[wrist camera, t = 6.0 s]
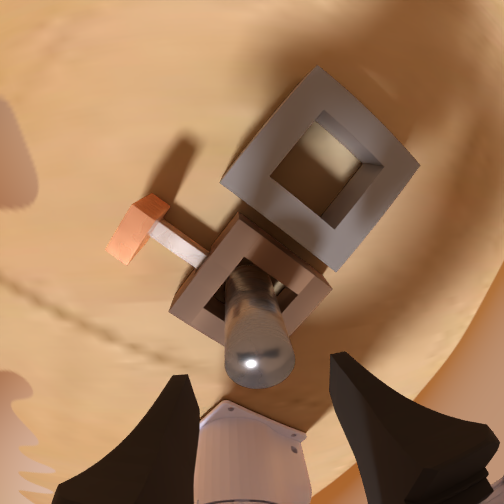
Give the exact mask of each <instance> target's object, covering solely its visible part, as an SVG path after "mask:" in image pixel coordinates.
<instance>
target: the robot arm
mask: <svg viewBox="0 0 504 504" xmlns="http://www.w3.org/2000/svg"><path fill="white" fill-rule="evenodd" d="M329 392H330V395H331V399H332V403H333V406H334V409H335V412H336V415H337V417H338V419H339V421H340V424H341V426H342V428H343V431H344V433H345V435H346V437H347V440H348V442H349V444H350V446H351V449H352V451H353V453H354V456H355V458H356V461H357V464H358V468H359V471H360V475H361V478H362V481H363V485H364V489H365V493H366V497H367V501H368V504H504V476H503V477H502V478H501V479H499V480H498V481H496V482H495V483H494V484H492V485H490V483H489V482H488V480H487V479H486V477H487V476H488V471H487V470H486V468H485V467H486V465H487V464H488V463H489V461H490V460H491V459H492V457H493V456H494V454H495V453H496V451H497V449H498V447H499V444H500V442H499V440H498V438H497V437H496V436H495V434H494V433H493V431H492V430H491V429H490V428H489V427H488V426H487V425H486V424H481V423H475V422H470V421H465V420H461V419H457V418H454V417H450V416H447V415H444V414H441V413H438V412H436V411H433V410H431V409H429V408H426V407H424V406H422V405H420V404H417V403H416V402H414V401H412V400H410V399H408V398H406V397H404V396H403V395H401V394H399V393H398V392H396V391H395V390H393V389H392V388H390V387H389V386H387V385H386V384H385V383H383V382H382V381H381V380H379V379H378V378H377V377H375V376H374V375H373V374H371V373H370V372H369V371H368V370H367V369H365V368H364V367H363V366H362V365H361V364H359V363H358V362H357V361H356V360H355V359H354V358H353V357H351V356H350V355H349V354H348V353H347V352H345V351H344V352H340V353H335V354H330V384H329ZM230 407H232V408H230ZM306 437H307V436H306V433H304V432H301V431H299V430H296V429H293V428H291V427H288V426H286V425H283V424H281V423H278V422H276V421H273V420H271V419H269V418H266V417H264V416H262V415H259V414H257V413H255V412H253V411H250V410H248V409H246V408H244V407H242V406H239V405H237V404H235V403H233V402H231V401H228V400H223V401H221V402H220V403H219V404H218V405H217V406H216V407H215V408H214V409H213V410H212V411H210V412H209V413H208V414H207V415H206V416H205V417H204V418H203V419H202V420H200V409H199V406H198V403H197V400H196V398H195V395H194V392H193V389H192V386H191V383H190V380H189V376H188V374H185V375H173V376H172V377H171V378H170V380H169V381H168V383H167V385H166V386H165V388H164V389H163V391H162V392H161V394H160V395H159V397H158V398H157V400H156V401H155V402H154V404H153V405H152V407H151V408H150V409H149V411H148V412H147V414H146V415H145V416H144V417H143V419H142V420H141V421H140V422H139V424H138V425H137V426H136V427H135V428H134V430H133V431H132V432H131V433H130V434H129V435H128V436H127V437H126V438H125V439H124V440H123V441H122V442H121V443H120V444H119V445H118V446H117V447H116V448H115V449H113V450H112V451H111V452H110V453H109V454H107V455H106V456H105V457H104V458H103V459H101V460H100V461H99V462H97V463H96V464H94V465H93V466H91V467H90V468H88V469H87V470H85V471H84V472H82V473H80V474H79V475H77V476H75V477H73V478H71V479H69V480H67V481H65V482H63V483H61V484H59V485H58V487H57V489H56V492H55V495H54V498H53V501H52V504H310V500H311V495H312V489H311V484H310V480H309V475H308V471H307V467H306V463H305V459H304V454H303V450H302V446H301V442H302V441H303V440H305V439H306Z"/></svg>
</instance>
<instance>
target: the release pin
mask: <svg viewBox="0 0 504 504" xmlns="http://www.w3.org/2000/svg"><path fill="white" fill-rule="evenodd" d="M170 207H171V206H169V205H168V204H167V203H165V202H164V201H163V200H161V199H160V198H158V197H157V196H156V195H154V194H153V193H151V194H149V195H148V196H146V197H144V198H142V199H140V200H139V201H137V202H135V203H133V204H132V205H131V207H130V208H129V210H128V211H127V213H126V215H125V216H124V218H123V220H122V221H121V223H120V225H119V226H118V228H117V230H116V231H115V233H114V235H113V236H112V238H111V240H110V242H109V243H108V245H107V247H106V249H105V250H106V251H107V252H109V253H110V254H111V255H113V256H114V257H116V258H117V259H118V260H120V261H121V262H122V263H124V264H125V265H128V264H129V262H130V261H131V260H132V259H133V258H134V256H135V255H136V254H137V253H138V252H139V251H140V249H141V248H142V247H143V246H144V245H145V244H146V242H147V241H148V239H149V238H150V236H151V237H152V238H154V239H155V240H156V241H158V242H159V243H161V244H162V245H163V246H165V247H166V248H168V249H169V250H171V251H172V252H173V253H175V254H176V255H178V256H179V257H181V258H182V259H183V260H185V261H186V262H188V263H189V264H191V265H192V266H194V267H195V268H196V269H199V268H200V267H201V265H202V264H203V263H204V261H205V260H206V259H207V257H208V256H209V255H210V252H209V251H208V250H206V249H205V248H203V247H202V246H201V245H199V244H198V243H196V242H195V241H193V240H192V239H191V238H189V237H188V236H186V235H185V234H184V233H182V232H181V231H179V230H178V229H177V228H175V227H174V226H172V225H171V224H170V223H168V222H167V221H165V220H164V219H163V217H164V215H165V214H166V212H167V211H168V210H169V208H170Z"/></svg>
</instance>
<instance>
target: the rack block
mask: <svg viewBox="0 0 504 504" xmlns="http://www.w3.org/2000/svg"><path fill="white" fill-rule="evenodd" d="M314 121H316V122H318V123H319V124H320V125H321V126H322V127H323V128H325V129H326V130H327V131H328V132H329V133H330V134H331V135H333V136H334V137H335V138H336V139H337V140H338V141H339V142H340V143H341V144H343V145H344V146H345V147H346V148H347V149H348V150H349V151H350V152H351V153H352V154H353V155H354V156H355V157H356V158H358V159H359V160H360V161H361V162H362V163H363V164H362V165H361V167H360V168H359V169H358V171H357V172H356V173H355V174H354V176H353V177H352V178H351V179H350V181H349V182H348V183H347V184H346V186H345V187H344V188H343V189H342V191H341V192H340V193H339V194H338V196H337V197H336V198H335V199H334V201H333V202H332V203H331V204H330V206H329V207H328V208H327V209H326V211H325V212H324V213H323V214H322V216H321V217H319V216H318V215H317V214H315V213H314V212H313V211H312V210H311V209H309V208H308V207H307V206H306V205H304V204H303V203H302V202H301V201H300V200H298V199H297V198H296V197H295V196H293V195H292V194H291V193H290V192H288V191H287V190H286V189H285V188H283V187H282V186H281V185H280V184H278V183H277V182H276V181H275V180H273V179H272V178H271V177H270V175H271V174H272V172H273V171H274V170H275V169H276V167H277V166H278V165H279V164H280V162H281V161H282V160H283V159H284V158H285V156H286V155H287V154H288V153H289V151H290V150H291V149H292V148H293V146H294V145H295V144H296V143H297V142H298V140H299V139H300V138H301V137H302V135H303V134H304V133H305V132H306V131H307V129H308V128H309V127H310V126H311V125H312V123H313V122H314ZM419 167H420V164H419V163H418V162H417V161H416V160H415V158H414V157H413V156H412V155H411V154H410V153H409V152H408V151H407V149H406V148H405V147H404V146H403V145H402V144H401V143H400V142H399V141H398V140H397V138H396V137H395V136H394V135H393V134H392V133H391V132H390V131H389V130H388V129H387V128H386V127H385V126H384V125H383V124H382V123H381V122H380V121H379V120H378V119H377V118H376V117H375V116H374V115H373V114H372V113H371V112H370V111H369V110H368V109H367V108H366V107H365V106H364V105H363V104H362V103H361V102H360V101H359V100H357V99H356V98H355V97H354V96H353V95H352V94H351V93H350V92H349V91H348V90H346V89H345V88H344V87H343V86H342V85H341V84H340V83H338V82H337V81H336V80H335V79H334V78H333V77H331V76H330V75H329V74H328V73H327V72H325V71H324V70H323V69H322V68H321V67H319V66H318V65H317V66H316V67H315V68H314V69H312V70H311V71H310V72H309V73H308V74H307V75H306V76H305V77H304V78H303V79H302V80H301V82H300V83H299V84H298V85H297V86H296V87H295V88H294V90H293V91H292V92H291V93H290V94H289V95H288V97H287V98H286V99H285V100H284V101H283V102H282V104H281V105H280V106H279V107H278V108H277V109H276V111H275V112H274V113H273V114H272V115H271V117H270V118H269V119H268V120H267V121H266V123H265V124H264V125H263V126H262V127H261V129H260V130H259V131H258V132H257V134H256V135H255V136H254V137H253V139H252V140H251V141H250V142H249V143H248V145H247V146H246V147H245V148H244V150H243V151H242V152H241V154H240V155H239V156H238V157H237V159H236V160H235V161H234V162H233V164H232V165H231V166H230V168H229V169H228V170H227V171H226V173H225V174H224V175H223V177H222V178H221V181H220V184H222V185H223V186H224V187H226V188H227V189H229V190H230V191H231V192H233V193H234V194H235V195H237V196H238V197H239V198H241V199H242V200H243V201H245V202H246V203H247V204H249V205H250V206H251V207H253V208H254V209H255V210H257V211H258V212H259V213H261V214H262V215H263V216H264V217H266V218H267V219H268V220H270V221H271V222H272V223H274V224H275V225H276V226H278V227H279V228H280V229H281V230H283V231H284V232H285V233H287V234H288V235H289V236H290V237H292V238H293V239H294V240H296V241H297V242H298V243H299V244H301V245H302V246H303V247H305V248H306V249H307V250H308V251H310V252H311V253H312V254H314V255H315V256H316V257H317V258H319V259H320V260H321V261H322V262H324V263H325V264H326V265H327V266H329V267H330V268H331V269H332V270H334V271H335V272H337V271H338V270H339V269H340V267H341V266H342V265H343V264H344V263H345V261H346V260H347V259H348V258H349V257H350V256H351V254H352V253H353V252H354V251H355V249H356V248H357V247H358V246H359V245H360V243H361V242H362V241H363V240H364V238H365V237H366V236H367V235H368V234H369V232H370V231H371V230H372V229H373V227H374V226H375V225H376V223H377V222H378V221H379V220H380V218H381V217H382V216H383V215H384V213H385V212H386V211H387V209H388V208H389V207H390V206H391V204H392V203H393V202H394V200H395V199H396V198H397V196H398V195H399V194H400V192H401V191H402V190H403V188H404V187H405V186H406V184H407V183H408V182H409V180H410V179H411V178H412V176H413V175H414V173H415V172H416V171H417V169H418V168H419Z"/></svg>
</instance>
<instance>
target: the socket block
mask: <svg viewBox="0 0 504 504" xmlns="http://www.w3.org/2000/svg"><path fill="white" fill-rule="evenodd" d="M243 257H246V258H247V259H248V260H250V261H251V262H253V263H254V264H256V265H257V266H258V267H260V268H261V269H263V270H264V271H265V272H267V273H268V274H270V275H271V276H272V277H274V278H275V279H277V280H278V281H279V282H281V283H282V284H284V285H285V286H286V287H285V288H284V289H283V291H282V292H281V293H280V294H279V295H278V296H277V297H276V298H277V301H278V304H279V307H280V310H281V313H282V317H283V320H284V323H285V326H286V329H287V332H288V336H290V335H291V334H292V333H293V332H294V331H295V330H296V329H297V328H298V327H299V326H300V325H301V323H302V322H303V321H304V320H305V319H306V318H307V317H308V316H309V315H310V314H311V313H312V311H313V310H314V309H315V308H316V307H317V306H318V305H319V304H320V303H321V302H322V300H323V299H324V298H325V297H326V296H327V295H328V294H329V293H330V291H331V290H332V288H331V286H330V285H329V284H328V282H327V281H326V279H325V278H324V276H323V275H322V274H320V273H319V272H318V271H316V270H315V269H314V268H313V267H311V266H310V265H309V264H307V263H306V262H305V261H303V260H302V259H301V258H300V257H298V256H297V255H296V254H294V253H293V252H292V251H290V250H289V249H288V248H286V247H285V246H284V245H282V244H281V243H280V242H278V241H277V240H276V239H274V238H273V237H272V236H271V235H269V234H268V233H267V232H265V231H264V230H263V229H261V228H260V227H259V226H257V225H256V224H255V223H253V222H252V221H251V220H249V219H248V218H246V217H245V216H244V215H242V214H241V213H240V212H237V213H236V215H235V216H234V217H233V218H232V220H231V221H230V222H229V224H228V225H227V226H226V228H225V229H224V230H223V231H222V233H221V234H220V235H219V237H218V238H217V239H216V241H215V242H214V243H213V245H212V246H211V251H210V255H209V256H208V257H207V259H206V260H205V261H204V263H203V264H202V265H201V267H200V268H199V269H196V268H195V269H194V270H193V271H192V273H191V274H190V275H189V277H188V278H187V279H186V281H185V282H184V283H183V285H182V286H181V287H180V289H179V290H178V292H177V293H176V294H175V296H174V298H173V301H172V304H171V307H170V309H169V312H170V313H171V314H173V315H174V316H176V317H177V318H179V319H180V320H182V321H184V322H185V323H187V324H188V325H190V326H192V327H193V328H195V329H196V330H198V331H200V332H201V333H203V334H205V335H206V336H208V337H210V338H211V339H213V340H215V341H216V342H218V343H220V344H221V345H223V346H225V305H224V304H223V303H221V302H220V301H218V300H217V299H215V298H214V297H212V296H213V295H214V294H215V292H216V291H217V290H218V289H219V287H220V286H221V285H222V284H223V282H224V281H225V280H226V279H227V277H228V276H229V275H230V274H231V272H232V271H233V270H234V269H235V267H236V266H237V265H238V264H239V262H240V261H241V260H242V259H243Z"/></svg>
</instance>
